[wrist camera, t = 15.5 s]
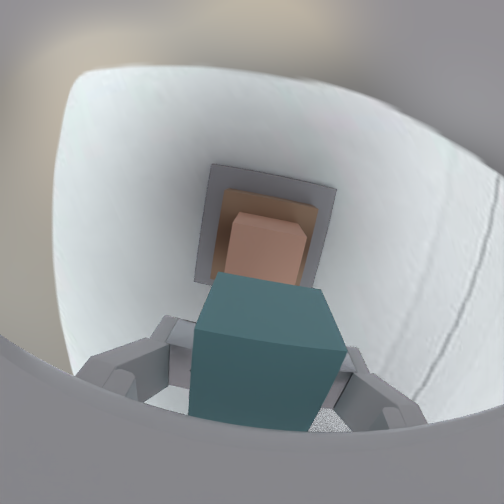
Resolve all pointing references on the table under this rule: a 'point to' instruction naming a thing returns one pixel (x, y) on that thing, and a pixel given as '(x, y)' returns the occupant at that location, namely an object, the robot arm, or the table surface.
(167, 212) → the table surface
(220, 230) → the base brick
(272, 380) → the teal cube
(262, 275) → the terracotta cube
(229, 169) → the mat
